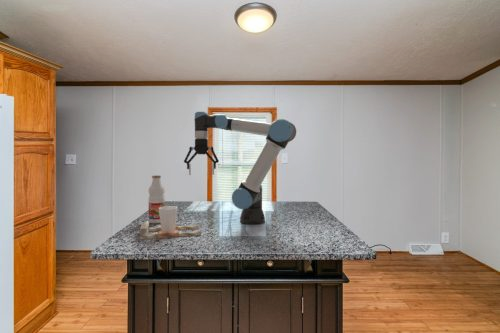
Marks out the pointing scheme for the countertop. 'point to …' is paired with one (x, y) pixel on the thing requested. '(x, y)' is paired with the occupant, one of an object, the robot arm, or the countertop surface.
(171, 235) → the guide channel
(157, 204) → the fruit juice
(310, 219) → the countertop surface
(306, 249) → the countertop surface
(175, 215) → the foam cup
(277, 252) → the countertop surface
